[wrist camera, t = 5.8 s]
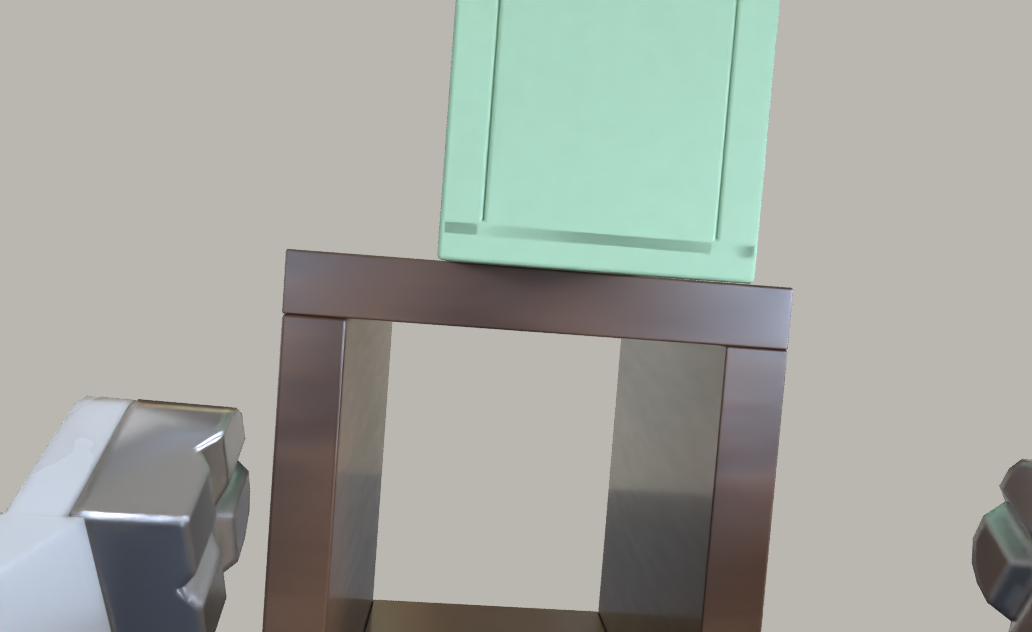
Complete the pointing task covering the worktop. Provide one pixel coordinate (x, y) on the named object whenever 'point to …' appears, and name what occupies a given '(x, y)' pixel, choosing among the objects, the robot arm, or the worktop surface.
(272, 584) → the shelf stand
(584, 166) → the storage tray
